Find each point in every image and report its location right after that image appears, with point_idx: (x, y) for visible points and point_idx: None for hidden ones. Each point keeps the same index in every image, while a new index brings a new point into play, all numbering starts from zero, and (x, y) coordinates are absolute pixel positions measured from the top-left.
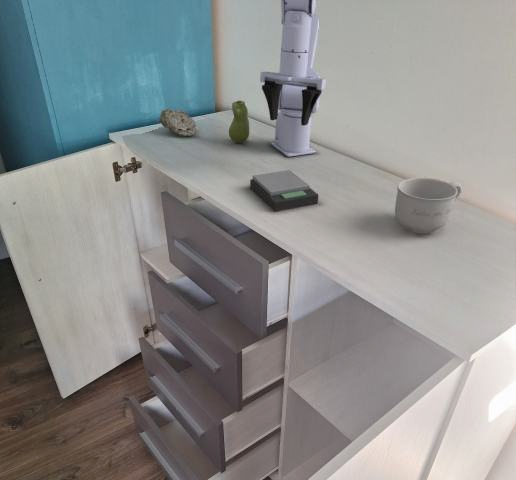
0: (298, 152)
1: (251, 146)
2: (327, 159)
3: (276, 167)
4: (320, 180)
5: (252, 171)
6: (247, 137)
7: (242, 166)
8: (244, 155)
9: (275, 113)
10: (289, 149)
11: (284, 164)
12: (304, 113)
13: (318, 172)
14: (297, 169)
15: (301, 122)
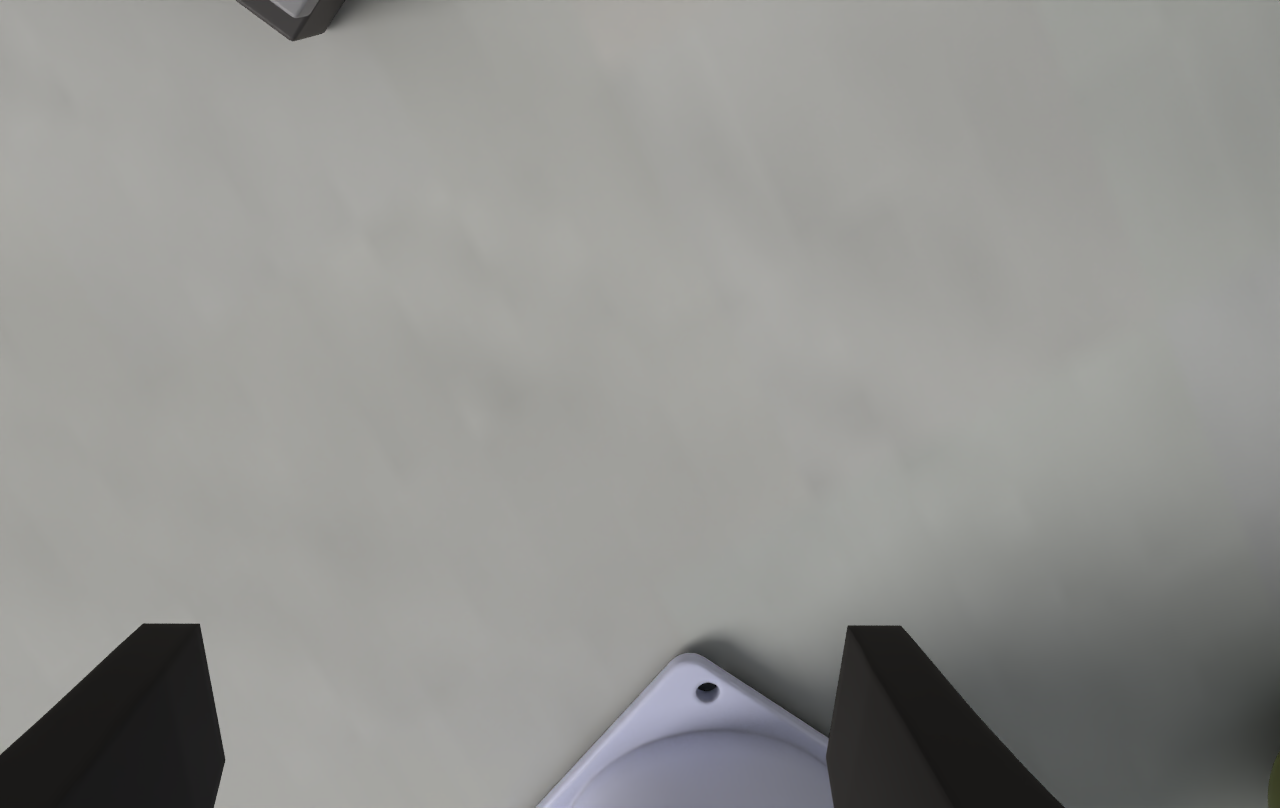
0: (616, 765)
1: (1171, 717)
2: (310, 796)
3: (678, 344)
4: (61, 268)
5: (886, 78)
6: (1273, 789)
7: (1061, 156)
8: (1158, 465)
9: (861, 788)
10: (712, 750)
11: (636, 467)
12: (9, 768)
13: (205, 459)
14: (443, 415)
15: (171, 647)
